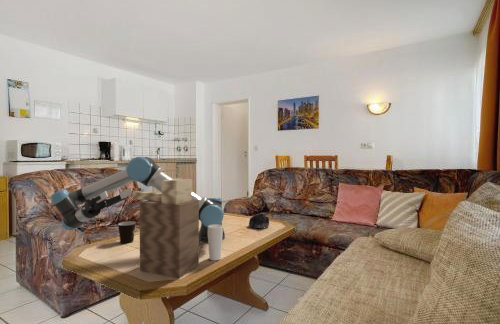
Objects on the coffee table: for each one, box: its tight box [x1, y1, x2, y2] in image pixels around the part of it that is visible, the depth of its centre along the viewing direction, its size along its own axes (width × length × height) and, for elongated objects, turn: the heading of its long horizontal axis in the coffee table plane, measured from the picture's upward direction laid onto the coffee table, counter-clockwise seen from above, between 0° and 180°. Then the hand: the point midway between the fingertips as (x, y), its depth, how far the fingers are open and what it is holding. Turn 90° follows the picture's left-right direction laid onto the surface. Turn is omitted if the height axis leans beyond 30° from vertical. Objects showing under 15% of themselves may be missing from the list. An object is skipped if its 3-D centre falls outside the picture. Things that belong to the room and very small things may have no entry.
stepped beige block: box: [132, 178, 193, 204], centre depth 117 cm, size 25×11×9 cm, turn 70°
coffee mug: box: [117, 221, 136, 245], centre depth 151 cm, size 12×9×10 cm
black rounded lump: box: [248, 212, 270, 229], centre depth 184 cm, size 13×14×10 cm
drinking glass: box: [207, 224, 224, 262], centre depth 126 cm, size 7×7×15 cm
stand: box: [139, 200, 200, 279], centre depth 115 cm, size 19×14×28 cm
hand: (119, 192), depth 125 cm, fingers open, 13 cm apart
